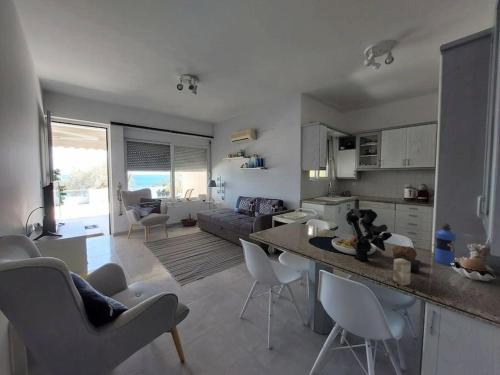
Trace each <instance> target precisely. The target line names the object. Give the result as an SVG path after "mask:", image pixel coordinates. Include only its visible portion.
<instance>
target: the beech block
mask: <svg viewBox="0 0 500 375" xmlns="http://www.w3.org/2000/svg"><path fill="white" fill-rule="evenodd" d="M410 269H411V262H410V261H407V260H405V259H402V258H399V259H395V258H394V259H393V274H392V275H393V276H392V277H393V278H392V280H393V282H395V283H396V284H399V285H400V286H408V285H411V271H410Z"/></svg>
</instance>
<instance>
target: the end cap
mask: <svg viewBox="0 0 500 375" xmlns="http://www.w3.org/2000/svg"><path fill="white" fill-rule="evenodd" d="M399 258H402V259H405V260H407V261H410V262H411V269H410V272H413V273H417V274H419V273H420V272H421V270H420V269H421V264H422V262H421V260H419V259H416V258H415V259H414V260H411V259H408V258H407V257H398V259H399Z"/></svg>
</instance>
